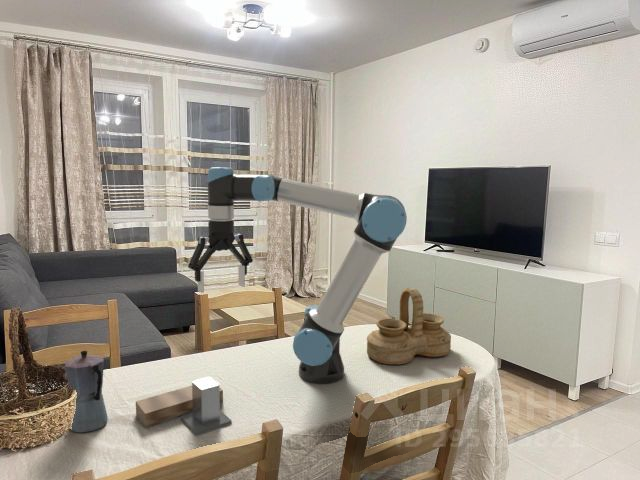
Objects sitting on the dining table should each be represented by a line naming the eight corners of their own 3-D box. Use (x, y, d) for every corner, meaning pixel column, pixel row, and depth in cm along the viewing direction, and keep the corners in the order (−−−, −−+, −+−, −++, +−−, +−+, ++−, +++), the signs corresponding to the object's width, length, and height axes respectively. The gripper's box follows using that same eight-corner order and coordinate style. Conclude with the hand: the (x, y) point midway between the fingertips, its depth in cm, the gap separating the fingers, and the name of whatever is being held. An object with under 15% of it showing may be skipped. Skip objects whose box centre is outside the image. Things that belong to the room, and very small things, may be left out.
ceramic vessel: (385, 372, 158) (388, 300, 155) (357, 352, 175) (359, 287, 171) (461, 355, 174) (465, 290, 170) (428, 339, 190) (432, 279, 186)
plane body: (211, 392, 141) (210, 380, 140) (223, 403, 135) (222, 390, 134) (136, 415, 127) (135, 401, 127) (145, 428, 121) (145, 413, 121)
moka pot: (92, 408, 130) (89, 340, 127) (124, 426, 122) (120, 354, 119) (57, 422, 123) (52, 350, 120) (88, 443, 114) (83, 366, 111)
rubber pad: (215, 407, 132) (215, 405, 132) (231, 423, 124) (231, 420, 124) (180, 418, 126) (180, 416, 126) (196, 435, 118) (196, 432, 118)
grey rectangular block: (192, 416, 126) (192, 381, 124) (210, 410, 129) (209, 376, 127) (202, 426, 121) (201, 389, 120) (219, 420, 124) (219, 384, 123)
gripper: (251, 216, 150) (251, 280, 153) (175, 220, 135) (177, 291, 138) (263, 218, 144) (263, 285, 147) (185, 223, 129) (187, 297, 132)
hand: (221, 288), depth 143 cm, fingers open, 13 cm apart
